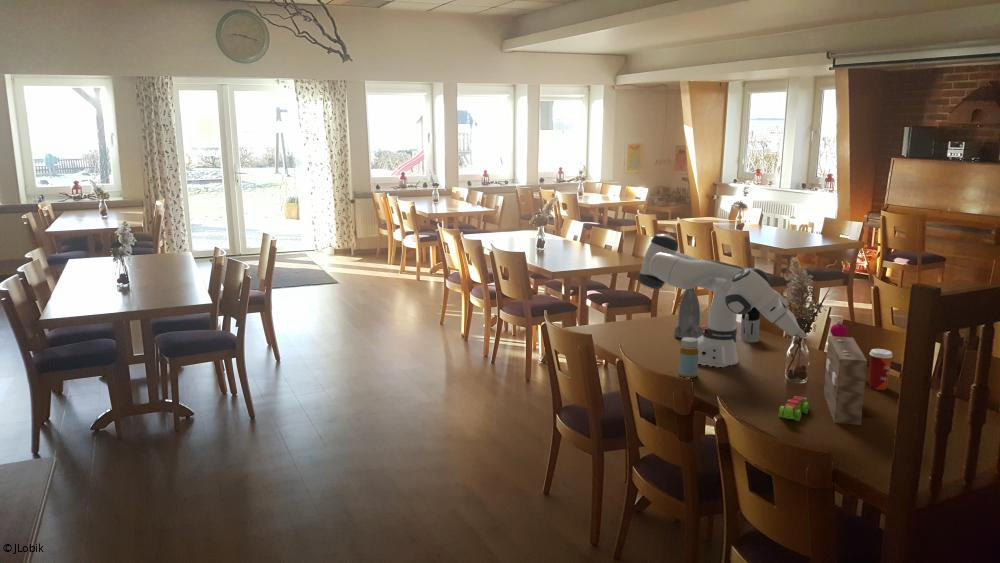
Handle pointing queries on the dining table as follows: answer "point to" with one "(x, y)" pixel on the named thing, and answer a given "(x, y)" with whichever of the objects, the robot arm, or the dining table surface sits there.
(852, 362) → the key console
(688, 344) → the bottle
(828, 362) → the grey block
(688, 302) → the bottle
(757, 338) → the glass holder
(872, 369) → the paper cup
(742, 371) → the dining table surface
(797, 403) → the toy crocodile
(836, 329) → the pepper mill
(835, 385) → the off-white rectangular block
